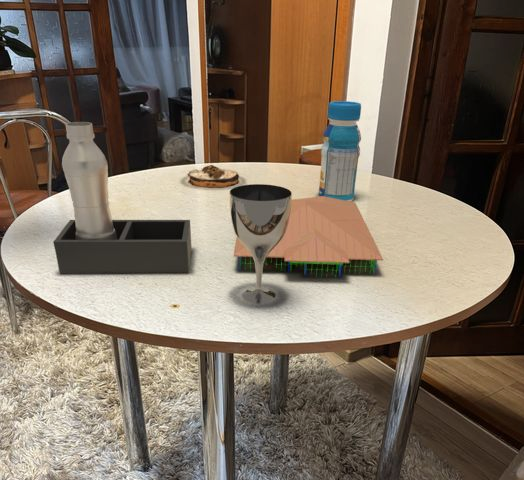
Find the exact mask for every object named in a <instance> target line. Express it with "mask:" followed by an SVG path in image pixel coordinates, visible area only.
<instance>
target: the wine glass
mask: <svg viewBox="0 0 524 480" xmlns="http://www.w3.org/2000/svg"><path fill="white" fill-rule="evenodd" d="M292 196H293V193H292V191H291V189H288V188H286V187H283V186H280V185H274V184H261V183H253V184H252V183H251V184H244V185H239V186H235V187H233V188H231V189H230V190H229V213H230V219H231V225H232V229H233V232H234V235H235V236H236V238H238V239H239V241H240V242H241V243H242V244H243V245H244V246H245V248H246V249H247V250H248V251H249V252H250V254H251V255H252V257H251V258H252V259H253V263H255V264H254V269H256V271H255V280H256V281H255V288H250V289H246V290H244V291H243V292H242V294H241V298H242V299H243V301H245V302H247V303H251V304H261V305H262V304H267V303H270V302H273V301H274V300H275V299H277V295H276V293H275V292H273V291H272V290H270V289H266V288H263V286H262V284H263V283H262V282H263V271H264V265H265V264H264V263H265V262H266V260H267V258H268V257H267V255H268V254H269V253H270V252H271V251H272V249H273V248H274V247H275V246H276V245H277V244H278V243H279V242H280V241H281V240H282V238H283V237H284V235H285V233H286V230H287V227H288V223H289V218H290V212H291V200H293V199H292V198H293V197H292Z"/></svg>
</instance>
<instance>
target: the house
mask: <svg viewBox="0 0 524 480" xmlns="http://www.w3.org/2000/svg"><path fill="white" fill-rule="evenodd" d="M233 250H234V251H233V257H236V258H237V257H238V267H239V268H238V271H239V272H240V271H241V265H242V258H244V267H245V268H244V269H246V267H247V266H246V265H249V266H250V268H249V269H250V272H251V271H252V270H251V268H252V264H254V265H255V262H252V258H253V257H252V255H251V254H250V252H249V251H248V250H247V249H246V248H245V246H244V245H243V244H242V243H241V242H240V241H239V239H238V238H237V237H236V238H235V245H234V249H233ZM247 258H249V259H250V261H249V262H246V259H247ZM266 258H270V260H271V261H270V262H272V259H273V258H275V259H276V262H275V265H276V266H275V267H277V265H279V266H280V268H281V269H280V270H283V269H282V267H283V261H281V263H278V262H277V261H278V259H280V258H281V259H284V262H287V263H284V266H287V273H292V267H293V265H295V266H298V264H300V267H303V273H304V278H307V270H308V268H307V267H308V266H307V265H321V268H316V269H314V268H313V266H311V268H309V270H310V273H312V271H316V273H315V276H317V274H318V271H323V267H324V266H323V265H327V268H326V271H331V274H333V273H334V272H333V271H334V268H332V269H329V265H335V267H336V268H335V272H337V274H338V279H341V277H342V267H345V266H347V265H346V264H350V265H349V267H352V262H351V261H360V263H362V261H365V264H367V262H368V264H369V266H368V265H357V263H355V264H354V269H356V267H357V268H359V270H361V269H362V267H363V268H364V267H365V268H364V271H366V270H367V268H370V270H369V273H371V271H372V275H375V273H376V267H377V261H384V258H383V255H382V254H381V251H380V250H379V248H378V245H377V244H376V241H375V240H374V237H373V236H372V234H371V232H370V229H369V227H368V226H367V223H366V221H365V219H364V217H363V215H362V213H361V211H360V210H359V207H358V205H357V203H356V202H354V201H345V200H340V199H335V198H330V197H325V196H321V197H318V196H313V197H312V196H311V197H304V198H294V199H292V200H291V212H290V218H289V223H288V227H287V230H286V233H285V235H284V237H283V238H282V240H281V241H280V242H279V243H278V244H277V245H276V246H275V247H274V248H273V249H272V251H271V252H270V253H269V254H268V255H267V257H266ZM344 264H345V265H344ZM264 265H267V262H264ZM254 269H255V268H254ZM345 271H346V269H344V271H343V273H344V274H345V273H346V272H345ZM255 272H256V269H255ZM284 273H286V270H284ZM348 273H349V275H350V273H351V270H349V271H348ZM354 274H355V275H356V271H354ZM360 274H361V272H359V275H360ZM322 276H323V273H320V277H321V278H323V277H322ZM325 277H326V279H327V277H328V275H326V276H325ZM335 279H337V275H335Z"/></svg>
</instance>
